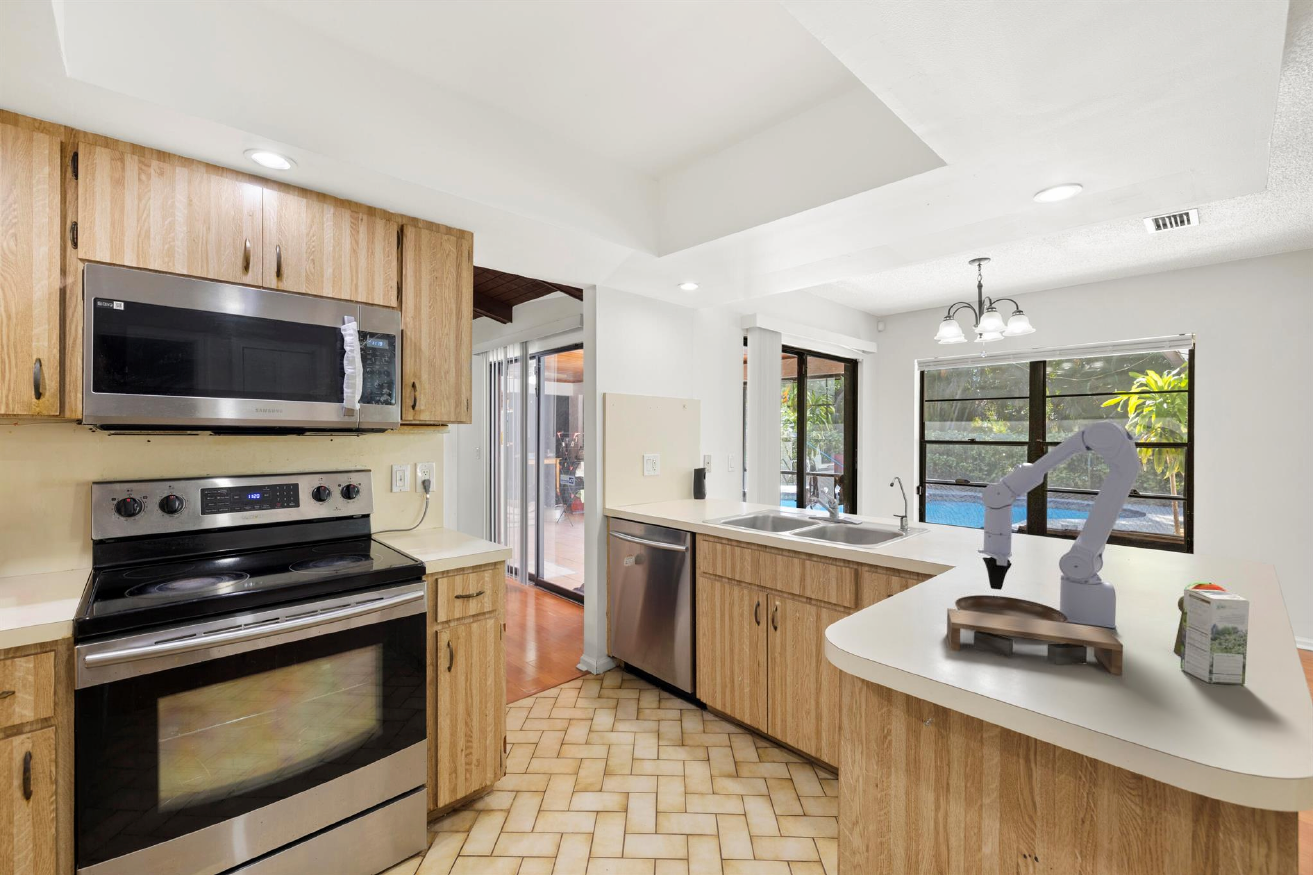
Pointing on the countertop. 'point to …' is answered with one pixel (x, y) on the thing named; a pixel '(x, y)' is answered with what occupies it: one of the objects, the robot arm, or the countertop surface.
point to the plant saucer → (1010, 607)
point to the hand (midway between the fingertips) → (995, 588)
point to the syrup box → (1214, 636)
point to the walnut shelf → (1036, 637)
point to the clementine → (1206, 586)
